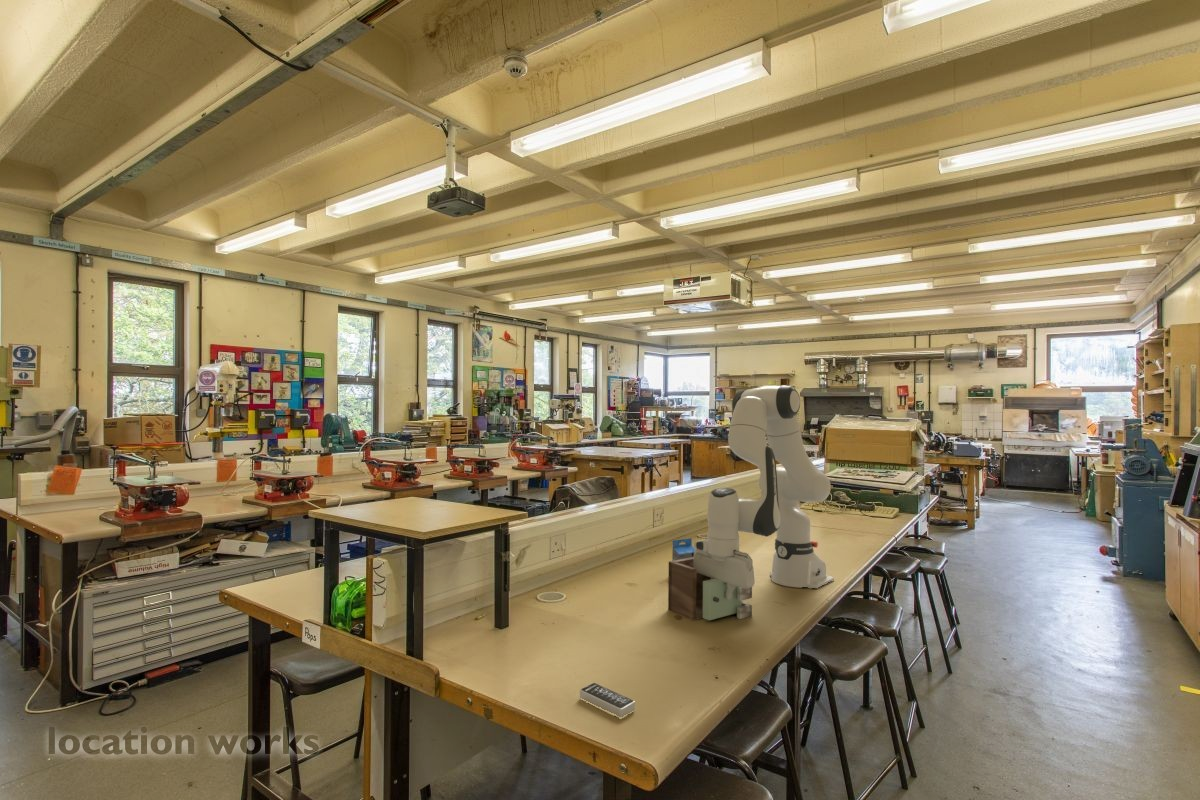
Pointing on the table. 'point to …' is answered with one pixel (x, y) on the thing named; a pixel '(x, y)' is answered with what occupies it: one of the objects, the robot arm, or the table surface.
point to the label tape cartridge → (682, 549)
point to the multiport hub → (607, 699)
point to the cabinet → (695, 591)
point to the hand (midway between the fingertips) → (722, 596)
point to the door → (718, 600)
